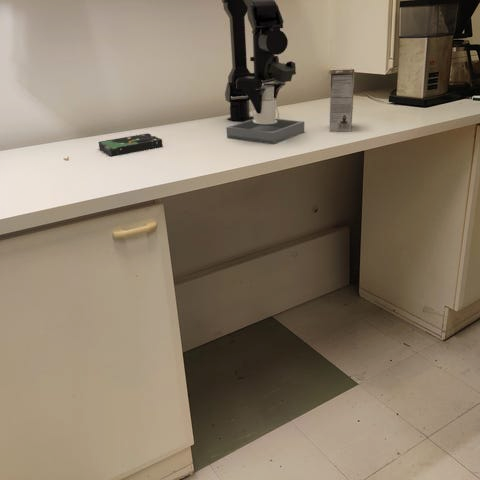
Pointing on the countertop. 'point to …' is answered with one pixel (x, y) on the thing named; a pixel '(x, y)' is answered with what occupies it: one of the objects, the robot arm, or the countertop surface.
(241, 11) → the robot arm
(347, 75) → the coffee box
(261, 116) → the downlight
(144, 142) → the disk drive
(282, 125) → the tray
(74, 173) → the countertop surface
